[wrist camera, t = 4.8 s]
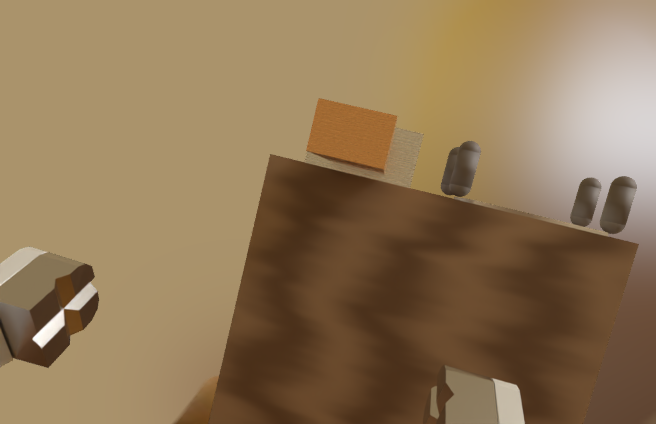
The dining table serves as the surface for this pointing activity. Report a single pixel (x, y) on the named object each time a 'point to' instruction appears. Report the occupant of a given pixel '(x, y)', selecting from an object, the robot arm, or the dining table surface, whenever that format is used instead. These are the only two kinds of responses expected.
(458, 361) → the tall wood grain block
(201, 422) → the dining table surface
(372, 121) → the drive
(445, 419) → the robot arm
